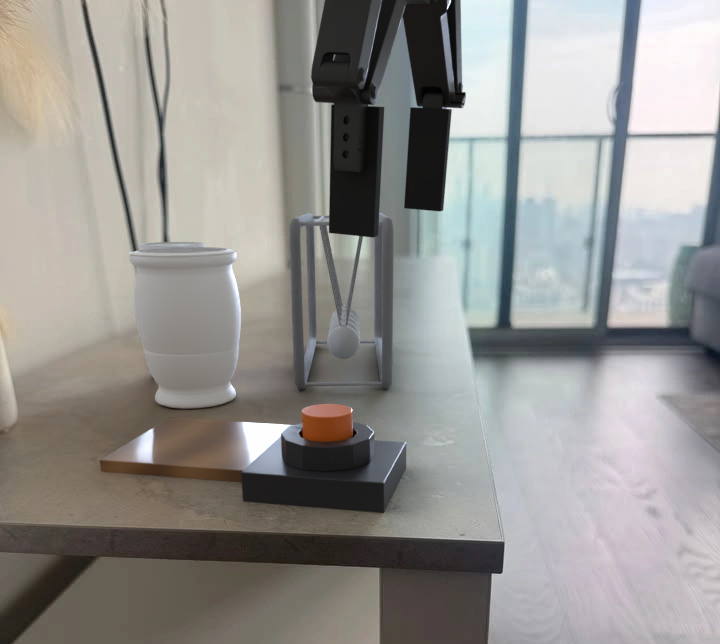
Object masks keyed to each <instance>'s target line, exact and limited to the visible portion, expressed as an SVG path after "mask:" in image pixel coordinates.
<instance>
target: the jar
mask: <svg viewBox="0 0 720 644" xmlns="http://www.w3.org/2000/svg"><path fill="white" fill-rule="evenodd" d="M128 255H129V256H128V260H129V263H130V264H132V266H134V267H135V271H136V274H135V277H134V278H135V279H134V286H133V287H134V289H133V307H134V316H135V322H136V323H135V324H136V328H137V332H138V333H137V334H138V336H139V340H140V342H141V345H142V347H143V354H144V358H145V362H146V366H147V365H148V367H147V369H148V368H149V370H150V372H151V374H152V375H151V376H152V378H153V380H154V382H155V383H156V384H157V386H158V389H157V391H156V393H155V395H154V400H155V402H156V403H157V404H158V405H160V406H162V407H167V408H173V409H184V410H185V409H188V410H189V409H191V410H192V409H203V408H211V407H216V406H220V405H225V404H226V403H230V402H231V401H232V400H234V399H235V398H236V396H237V392H236V389H235V387H234V386H233V385H232V383H231V381H232V379H233V377H234V374H235V372H236V369H237V365H238V360H239V351H240V350H239V349H240V348H239V347H240V346H239V345H240V337H241V327H242V312H241V311H242V310H241V309H242V308H241V301H240V300H241V299H240V293H239V288H238V284H237V280H236V276H235V273H234V270H233V264H234V263H235V262H236V261H237V257H238V256H237V255H238V254H237V249H230V248H225V247H213V246H212V247H210V246H209V247H207V246H205V247H177V248H156V249H145V250H140V249H139V250H135V251H131V252H130V251H129V253H128Z"/></svg>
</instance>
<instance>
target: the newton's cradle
mask: <svg viewBox="0 0 720 644" xmlns="http://www.w3.org/2000/svg"><path fill="white" fill-rule="evenodd" d="M302 227H305V245H306V251H305V252H306V278H307V282H306V283H307V311H308V312H307V315H308V316H307V317H308V319H307V320H308V341H307V345H306V348H305V341H304V339H305V338H304V337H305V335H304V307H303V304H304V303H303V275H302V274H303V273H302V247H301V246H302V244H301V228H302ZM315 227H319V231H320V235H321V240H322V245H323V251H324V255H325V260H326V266H327V270H328V275H329V280H330V284H331V290H332V295H333V299H334V304H335V310H334V311H333V313H332V315H331V317H330V322H329V329H328V335H327V340H318V338H317V337H318V334H317V333H318V331H317V329H318V328H317V327H318V325H317V289H316V288H317V285H316V250H315V246H316V245H315ZM328 227H329V215H313V214H312V213H311V212H306V213H304V214H302V215H298V216H295V217H294V218H292V219H291V220H290V222H289V229H288V230H289V231H288V240H289V241H288V245H289V270H290V271H289V272H290V295H291V296H290V298H291V299H290V300H291V322H292V326H291V327H292V349H293V350H292V351H293V375H294V377H293V378H294V385H295V388H296V389H297V390H298V391H302V390H304V389H305V388H306V387H361V386H362V387H366V386H369V387H371V386H373V387H375V386H378V387H380V386H381V388H382V389H384V390H389V389H390V388H391V387H392V385H393V355H394V354H393V353H394V351H393V349H394V348H393V347H394V346H393V342H394V341H393V339H394V337H393V336H394V251H395V250H394V249H395V245H394V244H395V242H394V239H395V237H394V236H395V235H394V234H395V233H394V231H395V230H394V221H393V219H392V218H390V217H389V216H387V215H385V214H383V213H382V212H379V229H378V236H376V237H374V238H373V239H374V240H373V242H374V243H373V245H374V246H373V247H374V248H373V252H374V253H373V257H374V258H373V262H374V263H373V265H374V266H373V274H374V275H373V281H374V282H373V286H374V287H373V291H374V293H373V306H374V307H373V333H374V334H373V338H374V340H373V339H372V340H368V339H367V340H364V339H363V340H361V338H360V337H361V336H360V335H361V334H360V318H359V315H358V313H357V311H356V310H355V309H353V308H351V307H352V301H353V295H354V290H355V284H356V278H357V272H358V266H359V263H360V262H359V261H360V256H361V250H362V244H363V239H364V237H363V236H358V240H357V245H356V253H355V257H354V264H353V269H352V274H351V280H350V286H349V292H348V297H347V303H346V304H343V301H342V296H341V291H340V286H339V282H338V277H337V271H336V266H335V262H334V257H333V251H332V247H331V241H330V236H329V230H328ZM317 344H319V345H321V344H326V345H327V348H328V350H329V352H330V353H331V354H332V355H333V356H334V357H335V358H338V359H341V360H346V359H350V358H352V357H354V356H355V355H356V354H357V353H358V351H359V349H360V346H361V344H374V347H375V354H376V361H377V367H378V373H379V380H380V381H334V382H333V381H328V382H327V381H325V382H323V381H321V382H319V381H318V382H315V381H314V382H308V379H309V375H310V371H311V367H312V362H313V358H314V354H315V350H316V347H317Z"/></svg>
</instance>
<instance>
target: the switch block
mask: <svg viewBox="0 0 720 644" xmlns="http://www.w3.org/2000/svg"><path fill="white" fill-rule="evenodd" d="M291 425H292V426H289V427H287V428H286V429H285V430H284V431H283V432H282V433H281V436H280V437H279V438H278V439H277V440H276V441H275V442H274V443H273V444H272V445H270V446H269V447H268V448H267V449H266V450H265V451H264V452H263V453H262V454H261V455H260V456H259V457H257V458H256V459H255V460H254V461H253V462H252V463H251V464H250V465H249V466H248V467H247V468H246V469H244V470H243V471H242V472H241V480H242V482H241V491H242V492H241V493H242V502H245V503H256V504H257V503H258V504H268V505H281V506H293V507H305V508H315V509H317V508H318V509H329V510H339V511H341V510H343V511H351V512H352V511H354V512H365V513H377V514H378V513H379V514H384V513H385V511H386V509H387V507H388V505H389V503H390V501H391V499H392V498H393V495H394V493H395V491H396V489H397V488H398V485H399V484H400V481H401V479H402V477H403V475H404V473H405V471H406V469H407V442H406V441H393V440H378V439H375V432H374V430H373V429H372V428H370V426H369V425H367V424H364V423H360V422H356V421H353V437H352V438H349V439H346V440H342V441H332V442H322V441H311V440H308V439H304V438H303V433H302V422H299V423H296V424H291Z"/></svg>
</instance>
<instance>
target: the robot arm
mask: <svg viewBox="0 0 720 644" xmlns="http://www.w3.org/2000/svg"><path fill="white" fill-rule="evenodd" d="M320 18H321V19H320V23H319V28H318V33H317V38H316V44H315V49H314V54H313V60H312V65H311V70H310V71H311V73H310V79H311V83H312V86H311V87H312V88H311V93H312V98H313V101H314V103H322V104H323V103H324V104H331V105H330V150H329V151H330V154H329V155H330V156H329V157H330V158H329V202H328V203H329V204H328V208H329V209H328V210H329V211H328V212H329V213H328V216H329V226H328V234H334V235H345V236H352V237H353V236H356V237H359V236H363V238H373V239H374V237H376V236H378V229H379V213H380V208H381V207H380V206H381V205H380V204H381V186H382V185H381V184H382V168H383V167H382V166H383V165H382V163H383V142H384V125H385V124H384V123H385V122H384V121H385V106H375V104H376V102H377V100H378V97H379V94H380V91H381V87H382V83H383V81H384V78H385V74H386V70H387V68H388V65H389V61H390V58H391V55H392V52H393V49H394V45H395V42H396V39H397V35H398V32H399V29H400V26H401V22H402V21H403V27H404V33H405V40H406V47H407V52H408V59H409V64H410V65H409V66H410V71H411V77H412V84H413V91H414V96H415V102H416V106H417V107H412V106H411V107H410V108H409V109H410V110H409V124H408V125H409V126H408V139H407V157H406V172H405V185H404V186H405V189H404V206H403V209H408V210H418V211H419V210H420V211H430V212H443V211H444V205H445V194H446V183H447V170H448V158H449V147H450V134H451V123H452V114H453V113H452V112H453V109H464V107H465V104H466V98H467V97H466V96H467V92H466V91H463V90H464V84H463V59H462V58H463V54H462V53H463V51H462V49H463V47H462V45H463V44H462V2H461V0H324V3H323V7H322V13H321V17H320Z"/></svg>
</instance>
